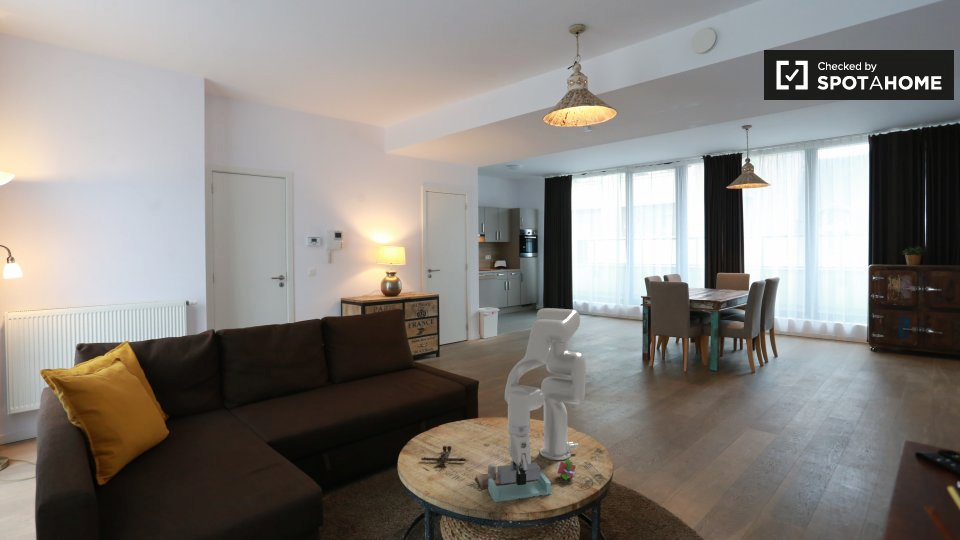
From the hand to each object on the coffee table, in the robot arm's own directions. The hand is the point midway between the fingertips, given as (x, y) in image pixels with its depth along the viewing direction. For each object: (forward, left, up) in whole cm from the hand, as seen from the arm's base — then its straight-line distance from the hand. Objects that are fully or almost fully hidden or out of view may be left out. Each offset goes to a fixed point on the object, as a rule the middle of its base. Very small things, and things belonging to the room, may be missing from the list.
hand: (519, 480), depth 162 cm
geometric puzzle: (-20, -6, -5) cm, 21 cm away
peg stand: (+2, -10, -4) cm, 11 cm away
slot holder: (0, 0, -4) cm, 4 cm away
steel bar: (0, 0, +1) cm, 1 cm away
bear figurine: (+21, -32, -5) cm, 39 cm away
